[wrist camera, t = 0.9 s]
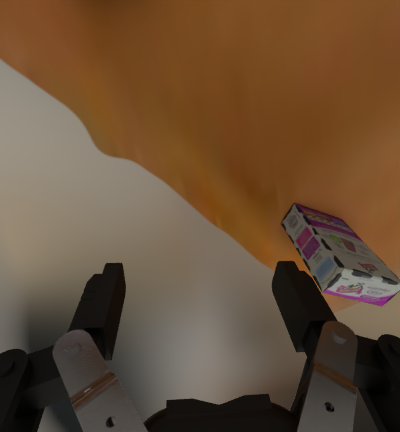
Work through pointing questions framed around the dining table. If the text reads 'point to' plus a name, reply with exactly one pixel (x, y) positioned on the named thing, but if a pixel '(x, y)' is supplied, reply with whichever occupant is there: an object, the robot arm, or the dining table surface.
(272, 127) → the dining table surface
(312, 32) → the dining table surface
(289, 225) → the candy bar box
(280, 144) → the dining table surface
